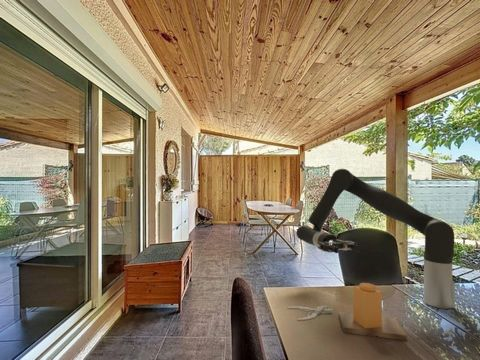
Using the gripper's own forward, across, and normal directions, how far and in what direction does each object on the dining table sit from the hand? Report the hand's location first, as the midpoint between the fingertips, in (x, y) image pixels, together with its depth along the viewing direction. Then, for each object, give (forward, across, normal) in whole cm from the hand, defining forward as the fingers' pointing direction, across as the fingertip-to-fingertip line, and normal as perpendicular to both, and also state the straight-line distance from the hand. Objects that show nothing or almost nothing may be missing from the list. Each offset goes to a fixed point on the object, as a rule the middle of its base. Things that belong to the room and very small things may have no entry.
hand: (348, 249), depth 100 cm
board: (+11, +1, +23) cm, 25 cm away
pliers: (-2, -14, +23) cm, 27 cm away
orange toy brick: (+11, 0, +21) cm, 24 cm away
